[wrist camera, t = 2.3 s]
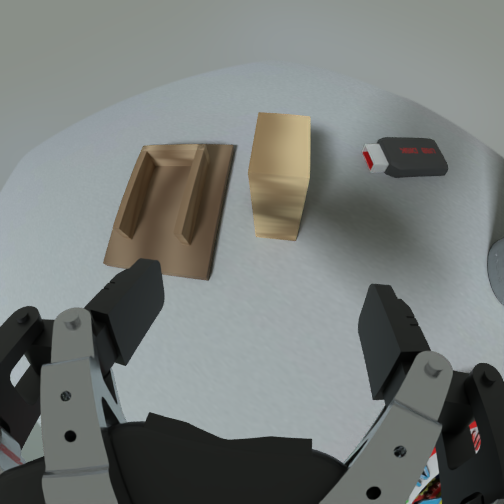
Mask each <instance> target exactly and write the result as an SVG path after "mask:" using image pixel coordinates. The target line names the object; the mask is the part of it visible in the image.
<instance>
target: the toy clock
mask: <svg viewBox="0 0 504 504" xmlns="http://www.w3.org/2000/svg"><path fill="white" fill-rule="evenodd" d="M469 427H470V431H471V435H472V439H473V443H474V447H475V451H476V453H477V452H478V450H479V448H480V443H481V440H480V436H479V432H478V428H477V425H476V421H475V420H474V421H473V422H472V423H471V424H470V425H469ZM405 504H442V498H441V486H440V477H439V469H438V461H437V455H436V448H435V447H434V449H433V452H432V454H431V456H430V458H429V460H428V462H427V464H426V467H425V469H424V471H423V473H422V475H421V476H420V478H419V480H418V482H417V484H416V486H415V488H414V489H413V491H412V493H411V495H410V496H409V498H408V500H407V501H406V503H405Z"/></svg>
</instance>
